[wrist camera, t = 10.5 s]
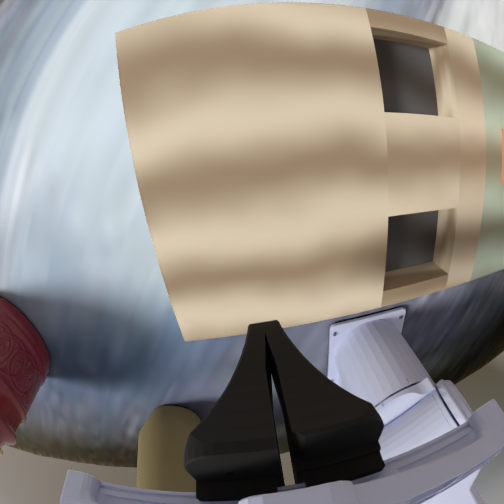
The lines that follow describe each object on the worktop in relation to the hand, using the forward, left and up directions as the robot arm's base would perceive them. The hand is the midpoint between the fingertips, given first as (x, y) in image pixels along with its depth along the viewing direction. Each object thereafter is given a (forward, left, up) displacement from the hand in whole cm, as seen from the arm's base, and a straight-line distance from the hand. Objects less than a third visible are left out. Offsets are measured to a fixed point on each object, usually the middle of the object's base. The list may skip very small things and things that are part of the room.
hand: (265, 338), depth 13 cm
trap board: (+6, -12, -9) cm, 16 cm away
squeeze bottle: (-20, +12, -10) cm, 25 cm away
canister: (-6, +30, -10) cm, 32 cm away
